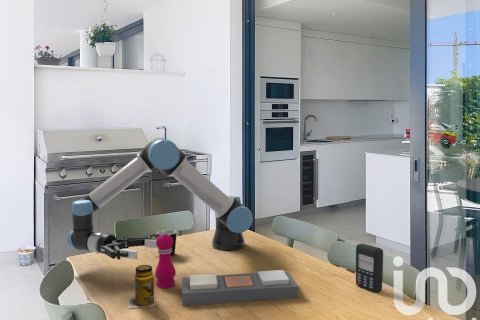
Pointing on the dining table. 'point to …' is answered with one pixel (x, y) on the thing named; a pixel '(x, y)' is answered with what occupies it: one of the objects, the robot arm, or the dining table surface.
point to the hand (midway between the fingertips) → (148, 249)
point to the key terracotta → (238, 281)
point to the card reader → (369, 267)
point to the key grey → (273, 277)
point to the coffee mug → (172, 234)
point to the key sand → (203, 282)
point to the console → (238, 291)
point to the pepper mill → (165, 262)
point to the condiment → (143, 288)
